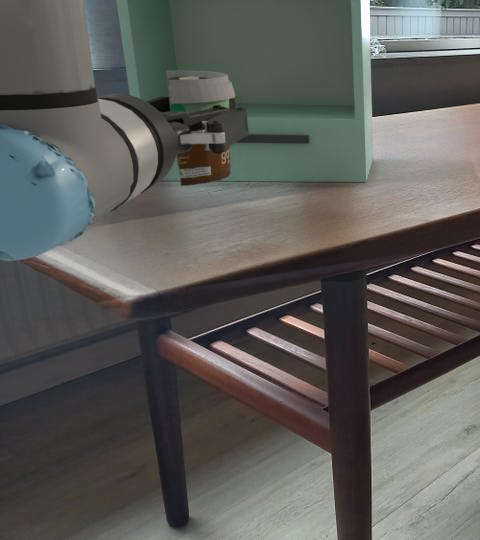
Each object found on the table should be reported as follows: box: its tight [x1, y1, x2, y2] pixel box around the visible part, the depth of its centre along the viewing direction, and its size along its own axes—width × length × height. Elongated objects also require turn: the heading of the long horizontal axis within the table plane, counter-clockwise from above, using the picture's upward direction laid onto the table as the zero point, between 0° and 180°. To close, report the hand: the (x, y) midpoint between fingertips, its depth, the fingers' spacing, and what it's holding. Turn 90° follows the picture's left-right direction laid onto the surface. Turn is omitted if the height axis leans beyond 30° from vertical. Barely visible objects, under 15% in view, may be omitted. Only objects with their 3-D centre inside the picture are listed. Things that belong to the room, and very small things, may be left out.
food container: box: [166, 70, 235, 187], centre depth 70 cm, size 12×6×10 cm, turn 24°
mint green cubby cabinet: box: [116, 0, 374, 183], centre depth 91 cm, size 17×28×25 cm, turn 95°
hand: (199, 110), depth 72 cm, fingers closed on food container, 6 cm apart
